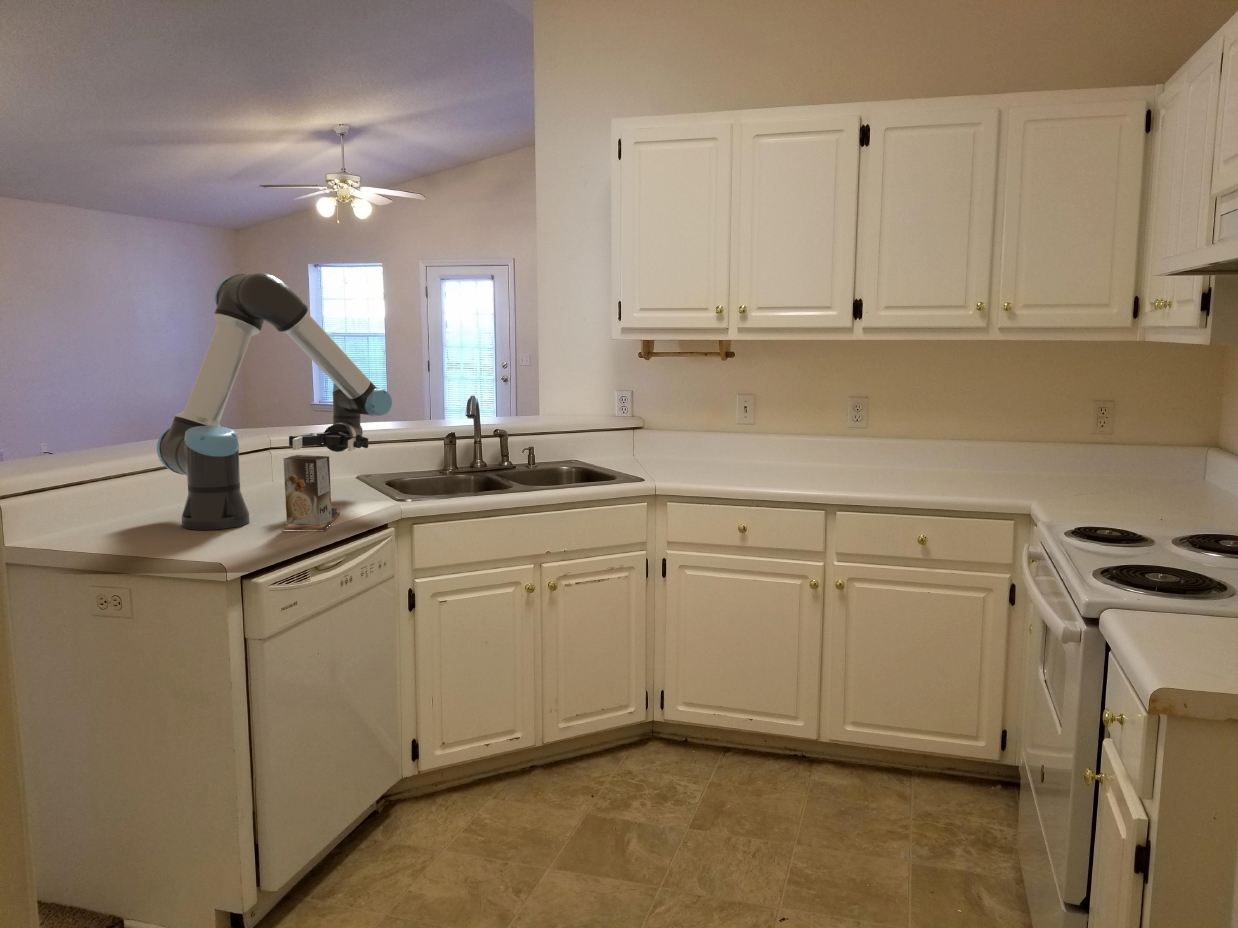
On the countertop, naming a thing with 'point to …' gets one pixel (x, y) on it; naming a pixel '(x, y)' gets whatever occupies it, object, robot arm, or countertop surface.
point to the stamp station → (314, 527)
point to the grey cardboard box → (307, 489)
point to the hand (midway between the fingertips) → (321, 445)
